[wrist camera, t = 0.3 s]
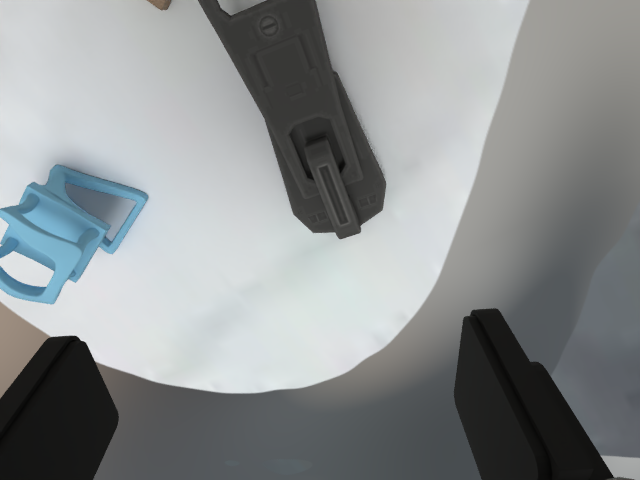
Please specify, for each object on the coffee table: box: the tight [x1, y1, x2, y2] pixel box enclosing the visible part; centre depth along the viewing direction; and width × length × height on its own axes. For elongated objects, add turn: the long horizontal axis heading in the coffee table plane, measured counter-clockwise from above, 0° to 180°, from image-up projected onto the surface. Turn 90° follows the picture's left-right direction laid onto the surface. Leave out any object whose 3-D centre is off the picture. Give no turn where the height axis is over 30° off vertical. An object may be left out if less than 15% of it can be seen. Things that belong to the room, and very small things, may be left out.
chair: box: [0, 165, 148, 304], centre depth 35 cm, size 8×8×12 cm
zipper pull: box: [198, 0, 386, 239], centre depth 33 cm, size 9×7×25 cm
